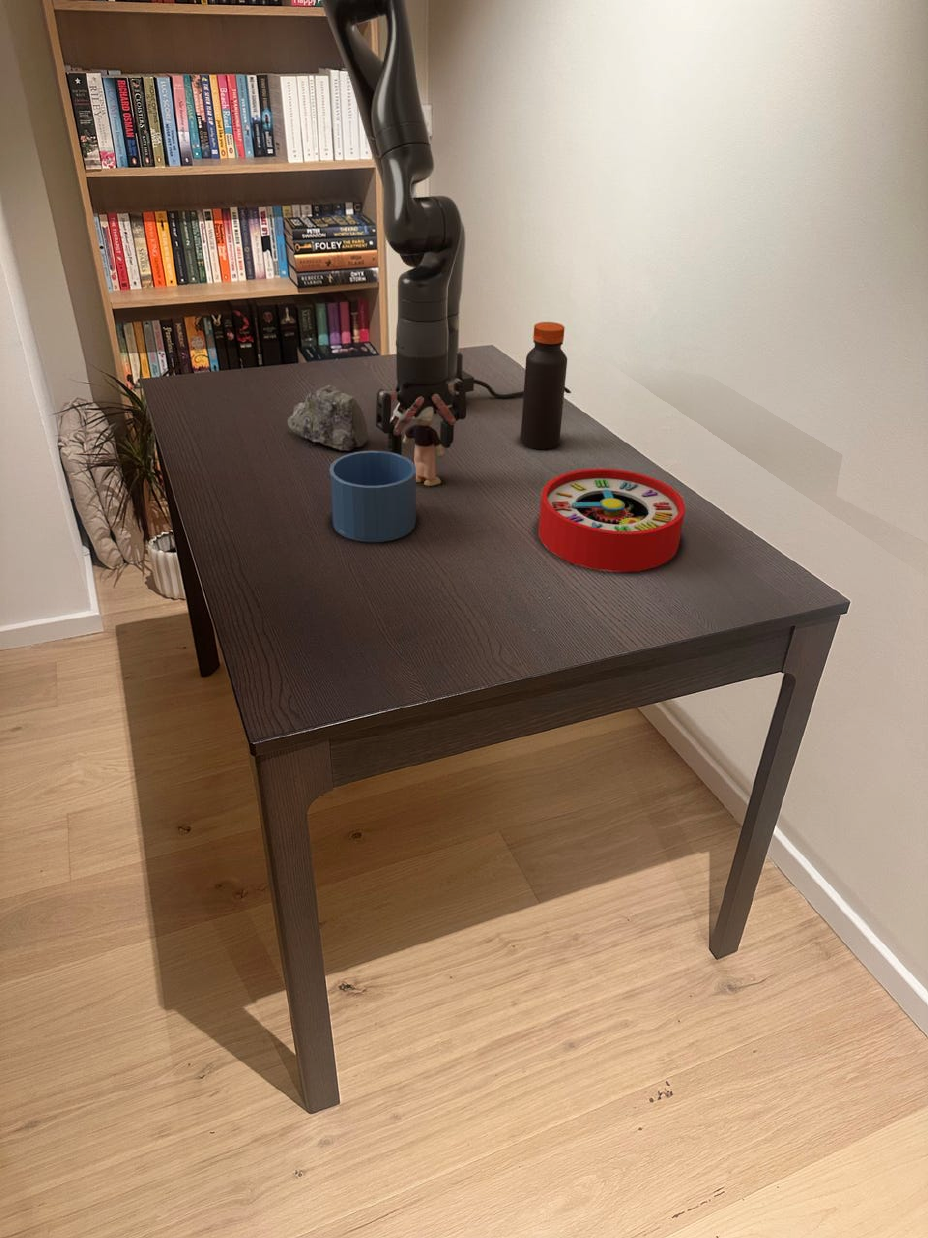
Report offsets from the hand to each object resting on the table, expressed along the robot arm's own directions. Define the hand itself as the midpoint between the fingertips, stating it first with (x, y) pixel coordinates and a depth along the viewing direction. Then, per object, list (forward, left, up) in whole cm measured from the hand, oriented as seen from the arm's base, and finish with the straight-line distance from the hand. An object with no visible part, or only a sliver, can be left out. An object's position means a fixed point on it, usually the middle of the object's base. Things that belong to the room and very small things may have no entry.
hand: (421, 450), depth 141 cm
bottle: (-25, -4, -5) cm, 26 cm away
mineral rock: (+7, -21, -5) cm, 23 cm away
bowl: (+13, +9, -5) cm, 16 cm away
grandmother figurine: (0, 0, -5) cm, 5 cm away
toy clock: (-15, +28, -5) cm, 32 cm away
